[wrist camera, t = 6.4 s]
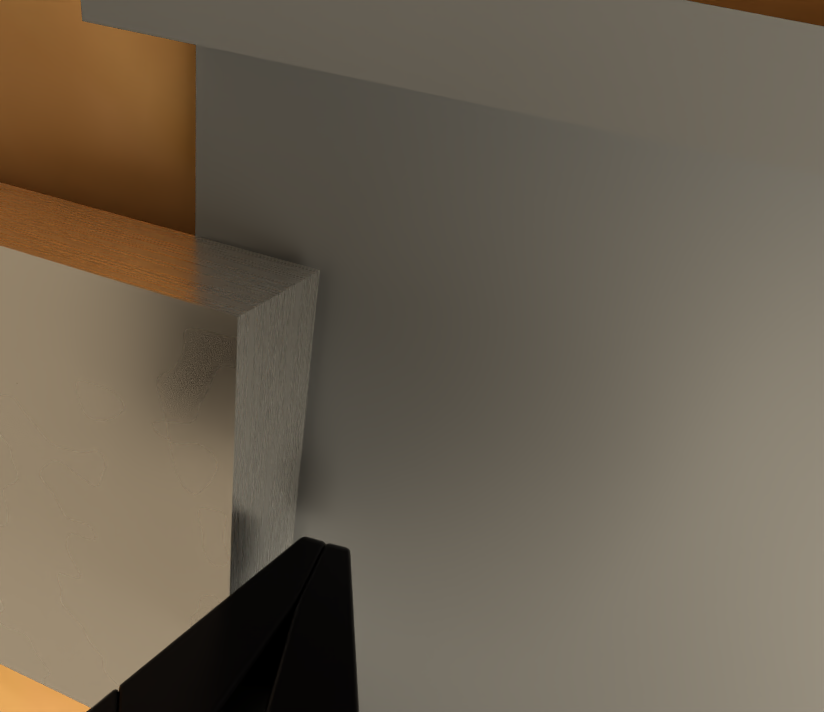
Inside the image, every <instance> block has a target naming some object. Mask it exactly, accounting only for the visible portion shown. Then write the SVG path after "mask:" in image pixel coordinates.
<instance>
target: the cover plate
mask: <svg viewBox="0 0 824 712" xmlns="http://www.w3.org/2000/svg"><path fill="white" fill-rule="evenodd" d="M319 278H320V270H319V269H315V268H311V267H308V266H304V265H300V264H297V263H293V262H289V261H286V260H282V259H278V258H275V257H271V256H267V255H264V254H260V253H257V252H253V251H249V250H246V249H242V248H238V247H235V246H231V245H227V244H224V243H220V242H216V241H213V240H209V239H205V238H202V237H198V236H195V235H191V234H187V233H184V232H180V231H176V230H173V229H169V228H165V227H162V226H158V225H154V224H151V223H147V222H144V221H140V220H136V219H133V218H129V217H125V216H122V215H118V214H114V213H111V212H107V211H103V210H100V209H96V208H92V207H89V206H85V205H82V204H78V203H74V202H71V201H67V200H63V199H60V198H56V197H52V196H49V195H45V194H41V193H38V192H34V191H30V190H27V189H23V188H20V187H16V186H12V185H9V184H5V183H1V182H0V664H2V665H4V666H6V667H8V668H10V669H12V670H14V671H16V672H18V673H20V674H22V675H24V676H26V677H28V678H31V679H33V680H35V681H37V682H39V683H41V684H43V685H45V686H47V687H49V688H51V689H53V690H55V691H57V692H59V693H62V694H64V695H66V696H68V697H70V698H72V699H74V700H76V701H78V702H80V703H82V704H84V705H86V706H88V707H90V708H92V707H93V706H94V705H95V704H97V703H98V702H99V701H100V700H102V699H103V698H104V697H105V696H106V695H108V694H109V693H110V692H111V691H112V690H114V689H117V690H118V691H119V686H120V684H122V683H123V682H124V681H125V680H126V679H128V678H129V677H130V676H131V675H133V674H134V673H135V672H136V671H137V670H139V669H140V668H141V667H142V666H144V665H145V664H146V663H147V662H149V661H150V660H151V659H152V658H153V657H155V656H156V655H157V654H158V653H160V652H161V651H162V650H163V649H164V648H166V647H167V646H168V645H169V644H171V643H172V642H173V641H174V640H176V639H177V638H178V637H179V636H180V635H182V634H183V633H184V632H185V631H187V630H188V629H189V628H190V627H191V626H193V625H194V624H195V623H196V622H198V621H199V620H200V619H201V618H202V617H204V616H205V615H206V614H207V613H209V612H210V611H211V610H212V609H214V608H215V607H216V606H217V605H218V604H220V603H221V602H222V601H223V600H225V599H226V598H227V597H228V596H229V595H231V594H232V593H233V592H234V591H236V590H237V589H238V588H239V587H241V586H242V585H243V584H244V583H245V582H247V581H248V580H249V579H250V578H252V577H253V576H254V575H255V574H256V573H258V572H259V571H260V570H261V569H263V568H264V567H265V566H266V565H268V564H269V563H270V562H271V561H272V560H274V559H275V558H276V557H277V556H279V555H280V554H281V553H282V552H283V551H285V550H286V549H287V548H288V547H290V546H291V545H292V544H293V537H294V527H295V517H296V507H297V497H298V487H299V477H300V467H301V457H302V447H303V437H304V427H305V417H306V408H307V398H308V388H309V378H310V368H311V358H312V348H313V338H314V328H315V318H316V308H317V298H318V288H319Z"/></svg>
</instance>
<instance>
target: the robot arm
mask: <svg viewBox="0 0 824 712" xmlns="http://www.w3.org/2000/svg"><path fill="white" fill-rule="evenodd" d="M87 712H359V698H358V680H357V662H356V644H355V626H354V608H353V590H352V572H351V554H350V550H349V549H348V548H347V547H343V546H339V545H336V544H332V543H328V544H326V543H325V542H324V541H321V540H317V539H314V538H310V537H305V536H304V537H301V538H300V539H298V540H297V541H296V542H294V543H293V544H292V545H291V546H290V547H288V548H287V549H286V550H285V551H283V552H282V553H281V554H280V555H279V556H277V557H276V558H275V559H274V560H272V561H271V562H270V563H269V564H268V565H266V566H265V567H264V568H263V569H261V570H260V571H259V572H258V573H256V574H255V575H254V576H253V577H252V578H250V579H249V580H248V581H247V582H245V583H244V584H243V585H242V586H241V587H239V588H238V589H237V590H236V591H234V592H233V593H232V594H231V595H229V596H228V597H227V598H226V599H225V600H223V601H222V602H221V603H220V604H218V605H217V606H216V607H215V608H214V609H212V610H211V611H210V612H209V613H207V614H206V615H205V616H204V617H202V618H201V619H200V620H199V621H198V622H196V623H195V624H194V625H193V626H191V627H190V628H189V629H188V630H187V631H185V632H184V633H183V634H182V635H180V636H179V637H178V638H177V639H176V640H174V641H173V642H172V643H171V644H169V645H168V646H167V647H166V648H164V649H163V650H162V651H161V652H160V653H158V654H157V655H156V656H155V657H153V658H152V659H151V660H150V661H149V662H147V663H146V664H145V665H144V666H142V667H141V668H140V669H139V670H137V671H136V672H135V673H134V674H133V675H131V676H130V677H129V678H128V679H126V680H125V681H124V682H123V683H122V684H120V686H119V691H118V690H117V689H114V690H112V691H111V692H110V693H109V694H108V695H106V696H105V697H104V698H103V699H102V700H100V701H99V702H98V703H97V704H95V705H94V706H93V707H92V708H91V709H89V710H88V711H87Z"/></svg>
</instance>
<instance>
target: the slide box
mask: <svg viewBox="0 0 824 712" xmlns="http://www.w3.org/2000/svg"><path fill="white" fill-rule="evenodd" d="M81 10H82V21H85V22H89V23H94V24H99V25H104V26H109V27H113V28H118V29H123V30H128V31H132V32H137V33H142V34H147V35H152V36H156V37H161V38H166V39H171V40H176V41H180V42H185V43H190V44H195V45H196V211H195V236H198V237H202V238H205V239H209V240H213V241H216V242H220V243H224V244H227V245H231V246H235V247H238V248H242V249H246V250H249V251H253V252H257V253H260V254H264V255H267V256H271V257H275V258H278V259H282V260H286V261H289V262H293V263H297V264H300V265H304V266H308V267H311V268H315V269H319V270H320V278H319V288H318V298H317V308H316V318H315V328H314V338H313V348H312V358H311V368H310V378H309V388H308V398H307V408H306V417H305V427H304V437H303V447H302V457H301V467H300V477H299V487H298V497H297V507H296V517H295V527H294V537H293V543H294V542H296V541H297V540H298V539H300V538H301V537H304V536H305V537H310V538H314V539H317V540H321V541H324V542H325V543H326V544H328V543H332V544H336V545H339V546H343V547H347V548H348V549H349V550H350V554H351V572H352V590H353V608H354V626H355V644H356V662H357V680H358V698H359V712H824V26H819V25H814V24H808V23H803V22H798V21H792V20H787V19H782V18H777V17H771V16H766V15H761V14H756V13H750V12H745V11H740V10H734V9H729V8H724V7H719V6H713V5H708V4H703V3H698V2H692V1H687V0H81Z"/></svg>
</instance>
